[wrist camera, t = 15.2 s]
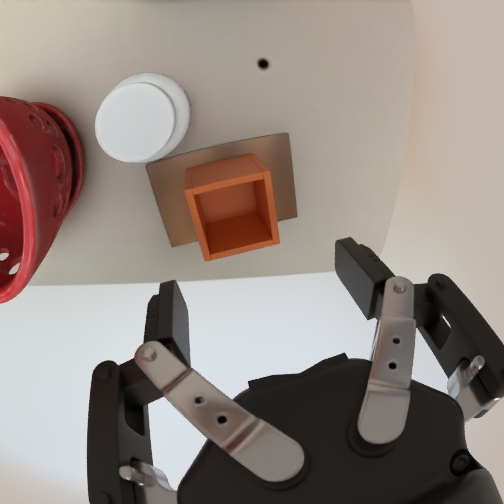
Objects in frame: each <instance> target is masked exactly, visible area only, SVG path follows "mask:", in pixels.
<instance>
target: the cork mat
mask: <svg viewBox="0 0 504 504" xmlns="http://www.w3.org/2000/svg"><path fill="white" fill-rule="evenodd" d="M248 154H254V155H255V156H256V157H257V158H258V159H259V160H260V161H261V162H262V163H263V164H264V165H265V166H266V167H267V168H268V169H269V170H270V172H271V179H272V186H273V194H274V201H275V209H276V216H277V222H278V221H282V220H286V219H291V218H295V217H297V208H296V197H295V187H294V177H293V168H292V159H291V150H290V142H289V134H288V133H281V134H274V135H268V136H262V137H257V138H251V139H246V140H241V141H236V142H231V143H226V144H221V145H217V146H213V147H208V148H204V149H200V150H196V151H192V152H188V153H184V154H180V155H176V156H173V157H169V158H166V159H162V160H159V161H155V162H152V163H148V164H147V165H146V169H147V172H148V176H149V179H150V182H151V186H152V189H153V192H154V195H155V199H156V202H157V205H158V208H159V211H160V214H161V217H162V220H163V223H164V226H165V229H166V232H167V235H168V237H169V240H170V243H171V246H172V247H175V246H179V245H183V244H187V243H191V242H195V241H199V240H198V237H197V234H196V230H195V227H194V223H193V220H192V216H191V213H190V209H189V206H188V202H187V199H186V195H185V191H184V189H185V176H186V169H187V168H191V167H195V166H199V165H203V164H207V163H211V162H215V161H220V160H224V159H229V158H233V157H238V156H243V155H248Z"/></svg>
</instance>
